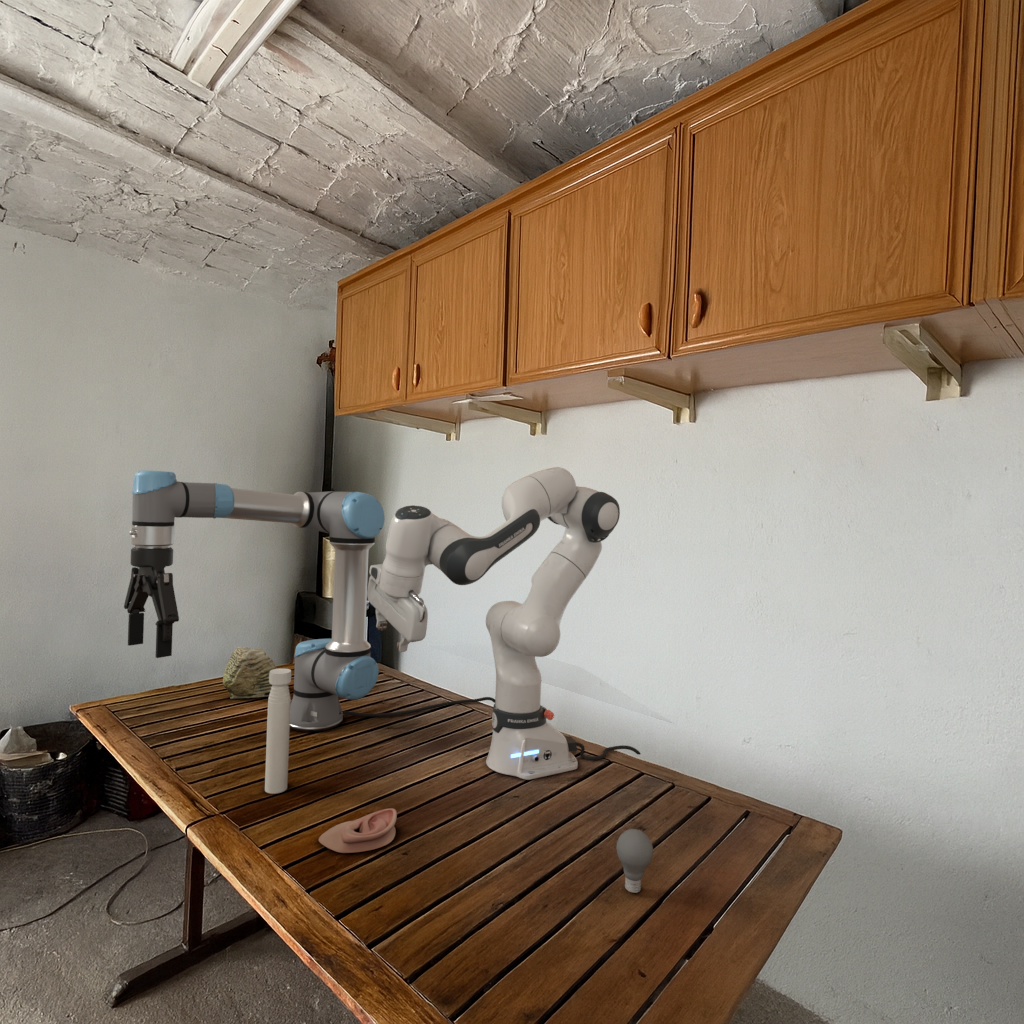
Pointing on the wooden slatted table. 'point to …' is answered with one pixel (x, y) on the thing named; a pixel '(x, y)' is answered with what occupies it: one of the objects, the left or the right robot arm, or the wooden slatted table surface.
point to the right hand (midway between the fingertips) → (390, 639)
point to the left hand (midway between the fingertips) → (149, 650)
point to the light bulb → (634, 857)
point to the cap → (280, 676)
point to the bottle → (277, 739)
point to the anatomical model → (362, 833)
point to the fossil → (248, 673)
